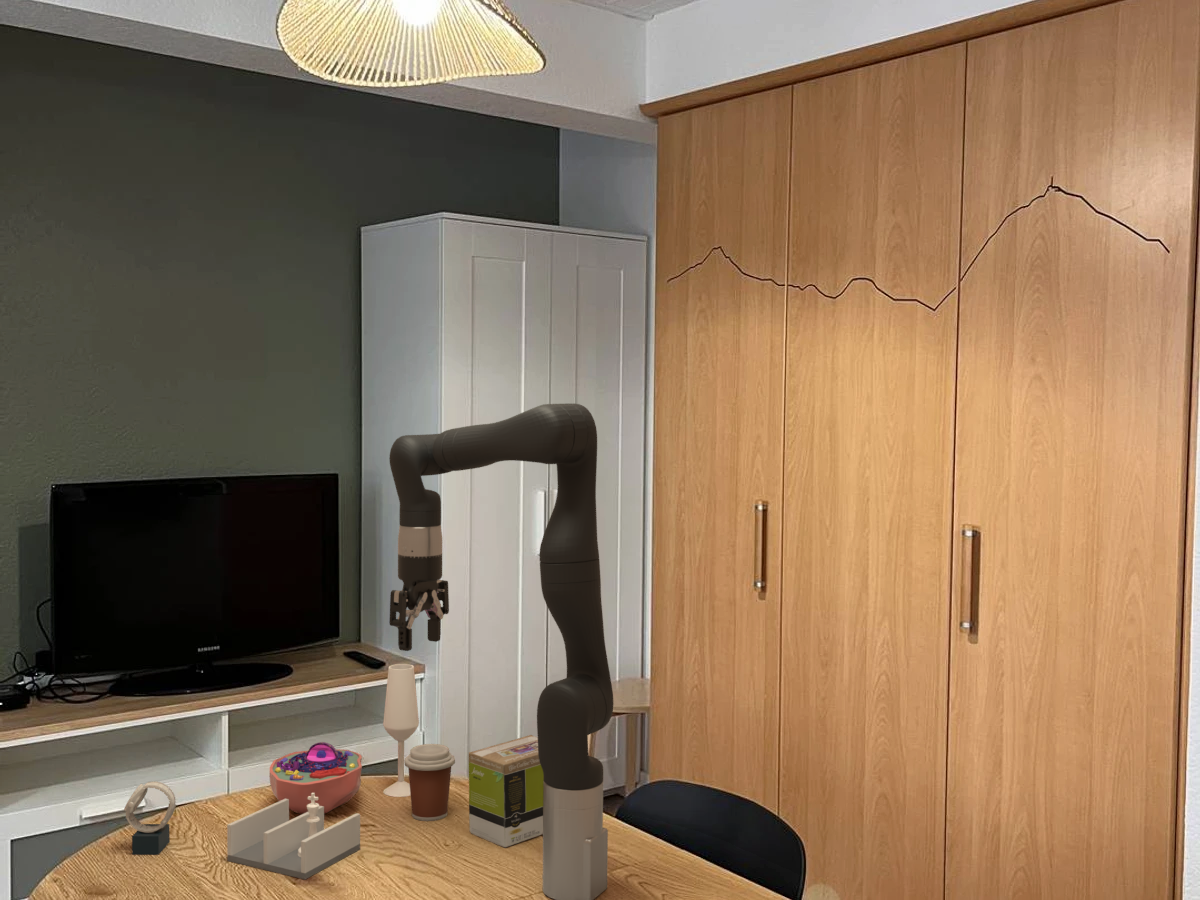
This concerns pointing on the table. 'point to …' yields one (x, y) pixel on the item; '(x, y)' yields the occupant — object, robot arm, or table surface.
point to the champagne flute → (400, 717)
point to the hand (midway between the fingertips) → (419, 645)
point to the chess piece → (312, 816)
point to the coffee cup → (429, 780)
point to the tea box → (506, 792)
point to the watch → (149, 835)
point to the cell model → (316, 777)
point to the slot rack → (290, 841)
